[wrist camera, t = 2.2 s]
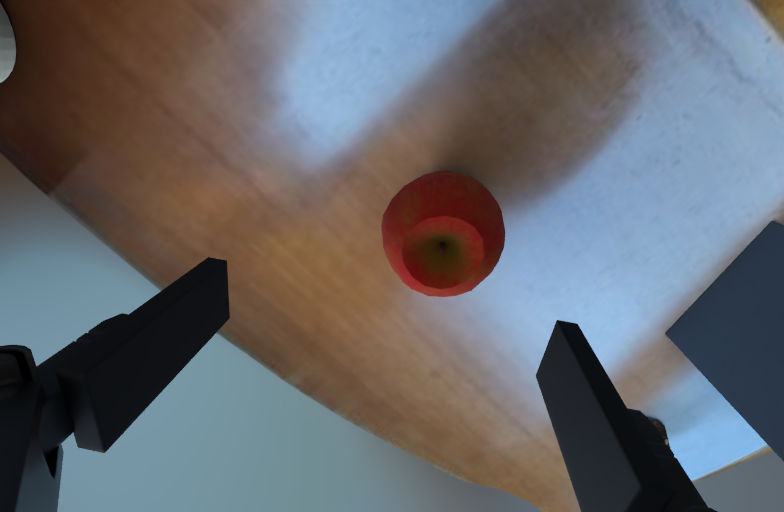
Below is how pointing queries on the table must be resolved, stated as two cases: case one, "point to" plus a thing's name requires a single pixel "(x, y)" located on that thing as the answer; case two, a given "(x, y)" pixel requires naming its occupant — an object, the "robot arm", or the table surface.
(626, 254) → the table surface
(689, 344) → the shelf
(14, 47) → the reusable coffee cup
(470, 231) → the apple
